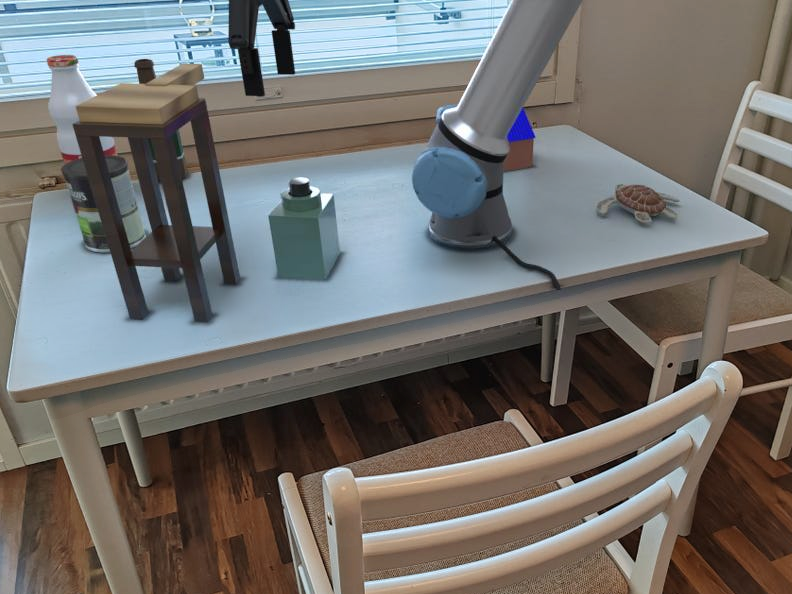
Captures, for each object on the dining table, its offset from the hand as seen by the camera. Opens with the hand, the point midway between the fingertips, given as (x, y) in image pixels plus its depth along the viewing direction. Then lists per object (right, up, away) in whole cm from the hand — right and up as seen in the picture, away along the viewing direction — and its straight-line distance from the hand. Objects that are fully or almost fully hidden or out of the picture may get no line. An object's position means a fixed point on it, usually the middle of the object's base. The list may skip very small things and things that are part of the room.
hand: (271, 84), depth 115 cm
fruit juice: (-42, -13, +32) cm, 54 cm away
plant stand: (-14, -33, +1) cm, 36 cm away
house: (+33, +1, +54) cm, 63 cm away
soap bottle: (+3, -27, +11) cm, 29 cm away
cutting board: (-13, -6, -10) cm, 17 cm away
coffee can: (-33, -21, +19) cm, 44 cm away
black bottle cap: (+4, -16, +4) cm, 17 cm away
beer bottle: (-35, -3, +46) cm, 58 cm away
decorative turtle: (+64, -13, +32) cm, 73 cm away
